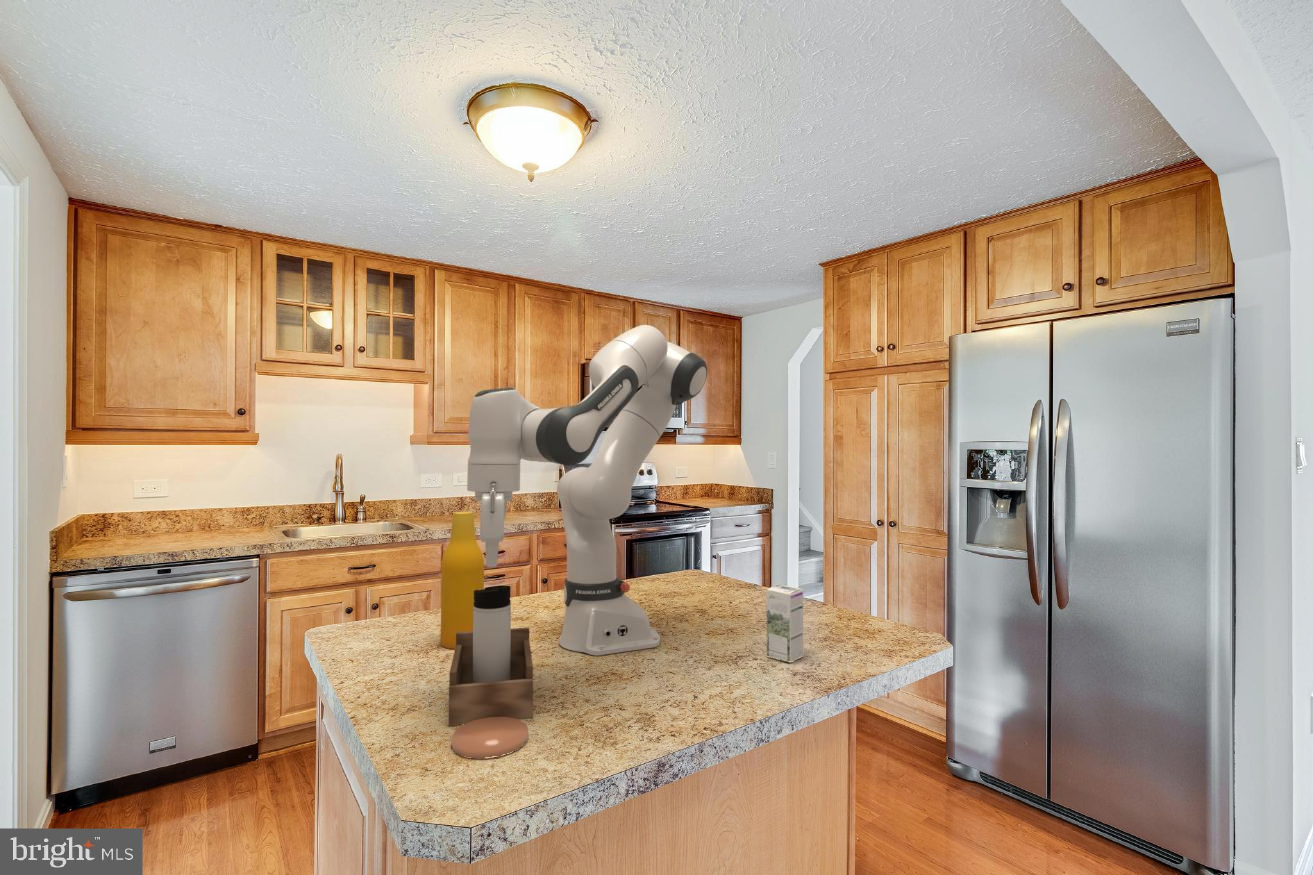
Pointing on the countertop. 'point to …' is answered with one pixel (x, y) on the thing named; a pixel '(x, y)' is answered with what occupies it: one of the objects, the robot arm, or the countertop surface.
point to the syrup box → (785, 622)
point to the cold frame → (491, 683)
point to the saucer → (489, 737)
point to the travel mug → (491, 634)
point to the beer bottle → (460, 579)
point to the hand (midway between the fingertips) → (492, 561)
